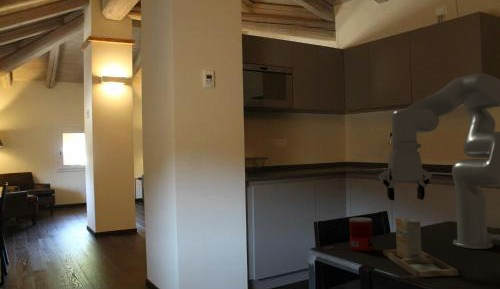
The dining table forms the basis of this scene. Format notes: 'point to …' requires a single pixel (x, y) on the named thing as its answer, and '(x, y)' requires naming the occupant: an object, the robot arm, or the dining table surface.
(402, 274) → the dining table surface
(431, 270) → the wooden divided tray
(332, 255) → the dining table surface
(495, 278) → the dining table surface
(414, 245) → the supplement box
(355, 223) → the canned food
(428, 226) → the dining table surface
